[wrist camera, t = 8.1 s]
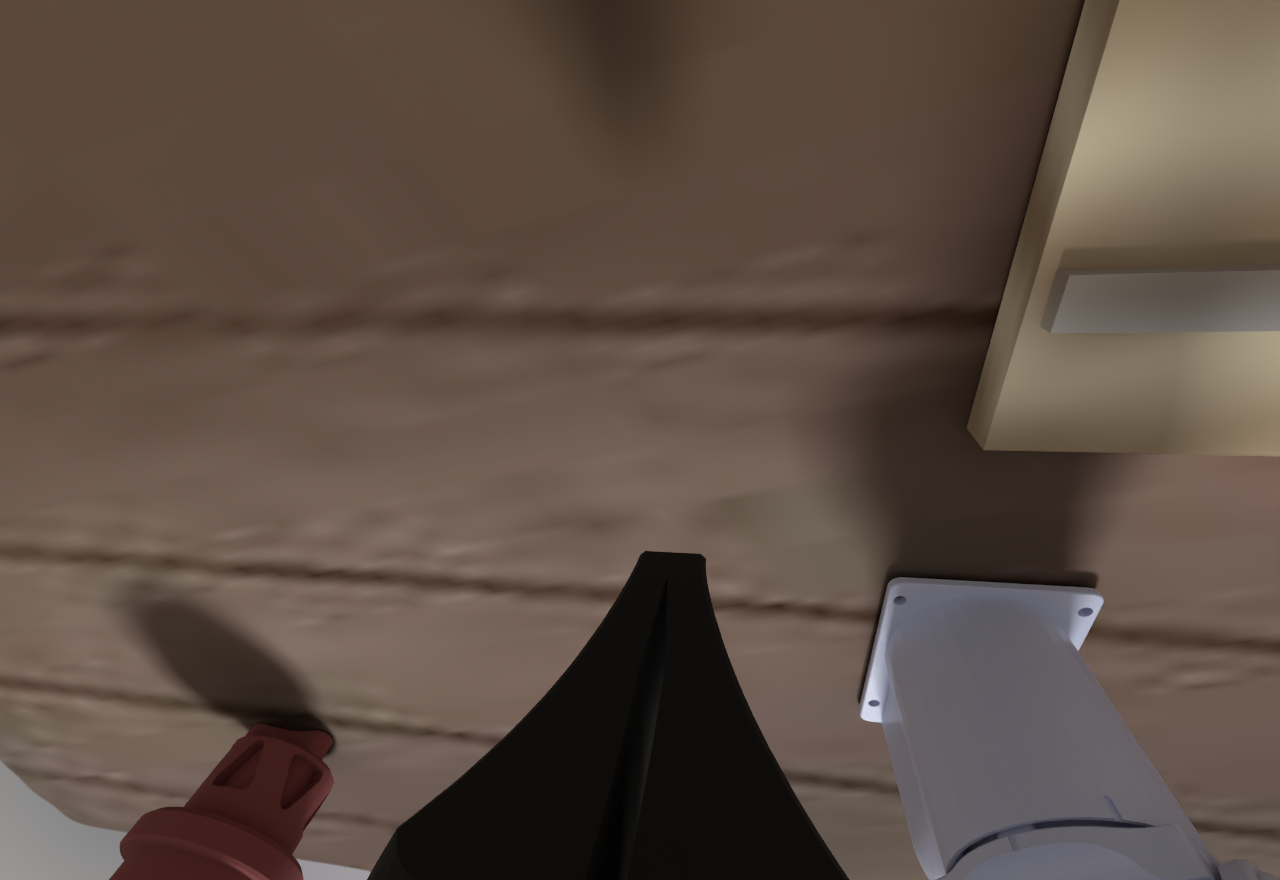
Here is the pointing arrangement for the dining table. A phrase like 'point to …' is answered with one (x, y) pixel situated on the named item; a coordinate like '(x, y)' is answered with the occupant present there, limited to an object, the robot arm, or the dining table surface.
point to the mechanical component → (237, 814)
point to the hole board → (1149, 244)
